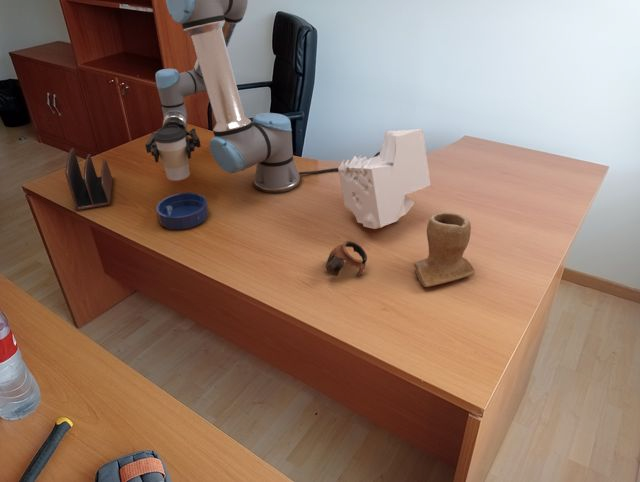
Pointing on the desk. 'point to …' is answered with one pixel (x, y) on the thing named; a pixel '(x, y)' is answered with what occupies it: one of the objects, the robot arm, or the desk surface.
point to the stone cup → (445, 250)
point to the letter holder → (88, 183)
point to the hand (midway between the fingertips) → (172, 156)
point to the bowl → (182, 211)
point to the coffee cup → (173, 151)
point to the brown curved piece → (345, 258)
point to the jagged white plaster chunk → (385, 179)
